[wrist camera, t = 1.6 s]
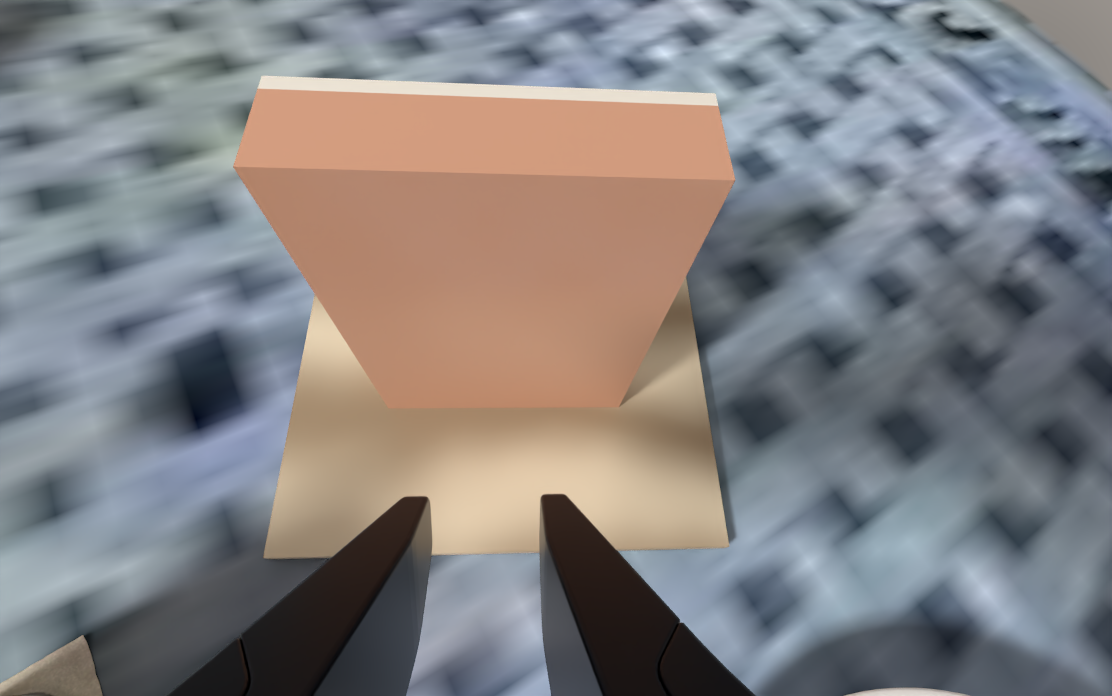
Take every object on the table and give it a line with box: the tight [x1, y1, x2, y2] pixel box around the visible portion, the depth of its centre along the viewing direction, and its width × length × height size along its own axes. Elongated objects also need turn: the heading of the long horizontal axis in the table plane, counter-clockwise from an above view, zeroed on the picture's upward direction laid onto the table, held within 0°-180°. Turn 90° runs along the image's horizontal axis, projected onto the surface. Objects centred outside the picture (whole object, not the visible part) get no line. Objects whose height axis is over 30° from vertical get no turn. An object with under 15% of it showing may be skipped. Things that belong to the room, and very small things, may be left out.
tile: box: [233, 76, 735, 408], centre depth 18 cm, size 3×10×14 cm, turn 92°
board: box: [263, 277, 729, 559], centre depth 26 cm, size 24×18×1 cm
